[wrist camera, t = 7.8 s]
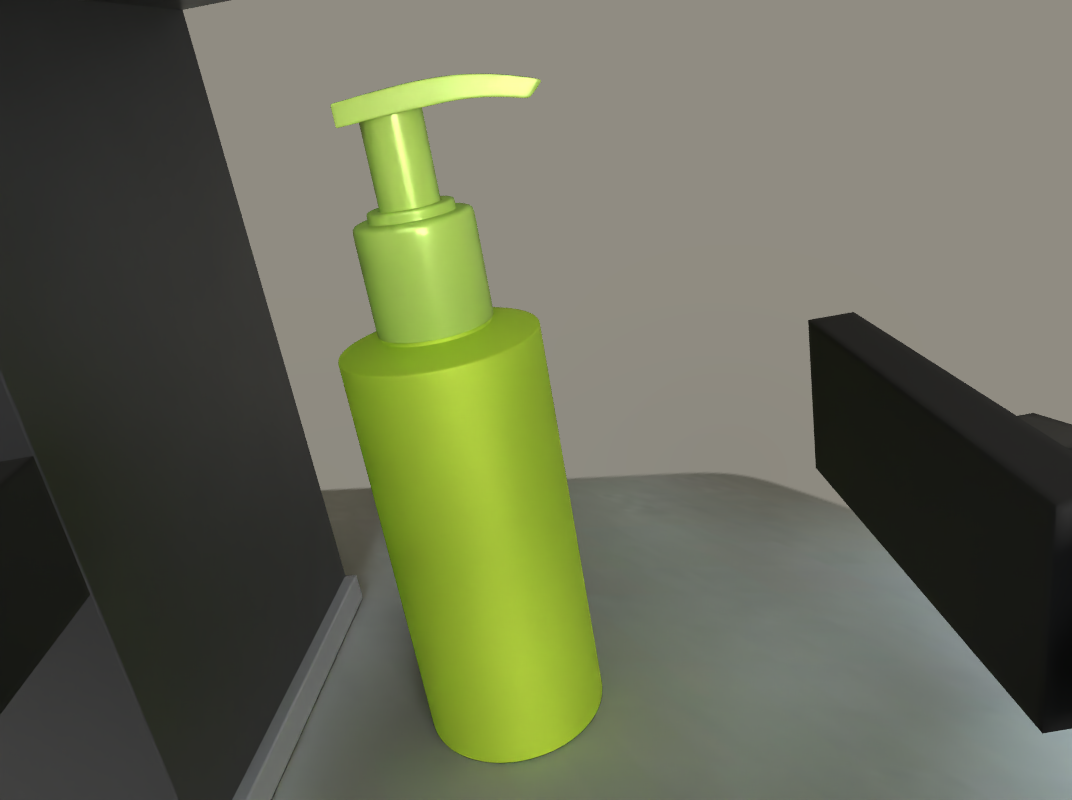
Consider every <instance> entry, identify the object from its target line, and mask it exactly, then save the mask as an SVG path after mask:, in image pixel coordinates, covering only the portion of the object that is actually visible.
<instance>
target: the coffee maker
mask: <svg viewBox="0 0 1072 800" xmlns="http://www.w3.org/2000/svg"><path fill="white" fill-rule="evenodd" d="M224 1H229V0H0V462H1V461H7V460H13V459H18V458H24V457H30V456H34V459H35V461H36V464H37V466H38V469H39V471H40V473H41V476H42V478H43V481H44V483H45V486H46V488H47V490H48V493H49V495H50V498H51V500H52V503H53V505H54V507H55V510H56V512H57V515H58V517H59V520H60V522H61V524H62V527H63V529H64V532H65V534H66V537H67V539H68V541H69V544H70V546H71V549H72V551H73V554H74V556H75V558H76V561H77V563H78V566H79V568H80V571H81V573H82V575H83V578H84V580H85V583H86V585H87V588H88V590H89V592H90V596H89V597H88V598H87V600H86V601H85V602H84V604H83V605H82V606H81V608H80V609H79V610H78V612H77V613H76V614H75V616H74V617H73V618H72V620H71V621H70V622H69V624H68V625H67V626H66V628H65V629H64V630H63V632H62V633H61V634H60V636H59V637H58V638H57V640H56V641H55V642H54V644H53V645H52V646H51V648H50V649H49V650H48V652H47V653H46V654H45V656H44V657H43V658H42V660H41V661H40V662H39V664H38V665H37V666H36V668H35V669H34V670H33V672H32V673H31V674H30V676H29V677H28V678H27V680H26V681H25V682H24V684H23V685H22V686H21V688H20V689H19V690H18V692H17V693H16V694H15V696H14V697H13V698H12V700H11V701H10V702H9V704H8V705H7V706H6V708H5V709H4V710H3V712H2V713H1V714H0V800H271V799H272V796H273V794H274V792H275V790H276V788H277V785H278V783H279V781H280V779H281V777H282V774H283V772H284V770H285V768H286V765H287V763H288V761H289V759H290V757H291V754H292V752H293V750H294V748H295V746H296V743H297V741H298V739H299V737H300V735H301V732H302V730H303V728H304V726H305V724H306V721H307V719H308V717H309V715H310V712H311V710H312V708H313V706H314V704H315V701H316V699H317V697H318V695H319V693H320V690H321V688H322V686H323V684H324V682H325V679H326V677H327V675H328V673H329V671H330V668H331V666H332V664H333V662H334V659H335V657H336V655H337V653H338V651H339V648H340V646H341V644H342V642H343V640H344V637H345V635H346V633H347V631H348V629H349V626H350V624H351V622H352V620H353V618H354V615H355V613H356V611H357V609H358V606H359V604H360V602H361V600H362V593H361V590H360V586H359V583H358V579H357V576H356V575H349V576H345V573H344V570H343V566H342V563H341V559H340V556H339V552H338V549H337V545H336V542H335V539H334V535H333V532H332V528H331V525H330V521H329V518H328V514H327V511H326V507H325V504H324V500H323V497H322V493H321V490H320V486H319V483H318V479H317V476H316V472H315V469H314V466H313V462H312V459H311V455H310V452H309V448H308V445H307V441H306V438H305V434H304V431H303V427H302V424H301V420H300V417H299V414H298V410H297V406H296V403H295V400H294V396H293V393H292V389H291V386H290V382H289V379H288V375H287V372H286V368H285V365H284V362H283V358H282V355H281V351H280V347H279V344H278V341H277V337H276V333H275V330H274V327H273V323H272V320H271V317H270V313H269V309H268V306H267V302H266V299H265V295H264V292H263V288H262V285H261V281H260V278H259V275H258V271H257V267H256V264H255V261H254V257H253V254H252V250H251V247H250V243H249V240H248V236H247V233H246V229H245V226H244V222H243V219H242V215H241V212H240V208H239V205H238V201H237V198H236V195H235V191H234V187H233V184H232V181H231V177H230V174H229V170H228V167H227V163H226V160H225V157H224V153H223V149H222V146H221V142H220V139H219V135H218V132H217V128H216V125H215V121H214V118H213V115H212V111H211V108H210V104H209V101H208V97H207V94H206V90H205V87H204V83H203V80H202V76H201V73H200V69H199V66H198V62H197V59H196V55H195V52H194V49H193V45H192V42H191V38H190V35H189V31H188V28H187V24H186V21H185V17H184V14H183V9H188V8H194V7H199V6H204V5H209V4H214V3H219V2H224Z"/></svg>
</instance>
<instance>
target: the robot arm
mask: <svg viewBox="0 0 1072 800" xmlns="http://www.w3.org/2000/svg"><path fill="white" fill-rule="evenodd" d="M808 323H809V342H810V361H811V379H812V400H813V418H814V437H815V458H816V468H817V469H818V471H819V472H820V473H821V474H822V475H823V477H824V478H825V479H826V480H827V481H828V482H829V484H830V485H831V486H832V487H833V488H834V489H835V491H836V492H837V493H838V494H839V495H840V496H841V498H842V499H843V500H844V501H845V502H846V504H847V505H848V506H849V507H850V508H851V509H852V511H853V512H854V513H855V514H856V515H857V516H858V518H859V519H860V520H861V521H862V522H863V523H864V525H865V526H866V527H867V528H868V529H869V530H870V532H871V533H872V534H873V535H874V536H875V538H876V539H877V540H878V541H879V542H880V543H881V545H882V546H883V547H884V548H885V549H886V550H887V552H888V553H889V554H890V555H891V556H892V557H893V559H894V560H895V561H896V562H897V563H898V564H899V566H900V567H901V568H902V569H903V570H904V572H905V573H906V574H907V575H908V576H909V577H910V579H911V580H912V581H913V582H914V583H915V584H916V586H917V587H918V588H919V589H920V590H921V591H922V593H923V594H924V595H925V596H926V597H927V598H928V600H929V601H930V602H931V603H932V604H933V605H934V607H935V608H936V609H937V610H938V611H939V613H940V614H941V615H942V616H943V617H944V618H945V620H946V621H947V622H948V623H949V624H950V625H951V627H952V628H953V629H954V630H955V631H956V632H957V634H958V635H959V636H960V637H961V638H962V639H963V641H964V642H965V643H966V644H967V645H968V647H969V648H970V649H971V650H972V651H973V652H974V654H975V655H976V656H977V657H978V658H979V659H980V661H981V662H982V663H983V664H984V665H985V666H986V668H987V669H988V670H989V671H990V672H991V673H992V675H993V676H994V677H995V678H996V679H997V681H998V682H999V683H1000V684H1001V685H1002V686H1003V688H1004V689H1005V690H1006V691H1007V692H1008V693H1009V695H1010V696H1011V697H1012V698H1013V699H1014V700H1015V702H1016V703H1017V704H1018V705H1019V706H1020V707H1021V709H1022V710H1023V711H1024V712H1025V713H1026V715H1027V716H1028V717H1029V718H1030V719H1031V720H1032V722H1033V723H1034V724H1035V725H1036V726H1037V727H1038V729H1039V730H1040V731H1041V732H1042V733H1048V732H1053V731H1059V730H1065V729H1071V728H1072V425H1071V424H1068V423H1065V422H1062V421H1058V420H1054V419H1051V418H1048V417H1045V416H1041V415H1038V414H1035V413H1031V414H1026V415H1020V416H1016V415H1014V414H1013V413H1011V412H1010V411H1008V410H1006V409H1005V408H1003V407H1002V406H1000V405H999V404H997V403H995V402H994V401H992V400H991V399H989V398H988V397H986V396H984V395H983V394H981V393H980V392H978V391H976V390H975V389H973V388H972V387H970V386H969V385H967V384H966V383H964V382H962V381H961V380H959V379H958V378H956V377H954V376H953V375H951V374H950V373H948V372H947V371H945V370H944V369H942V368H941V367H939V366H937V365H936V364H934V363H932V362H931V361H929V360H928V359H926V358H925V357H923V356H922V355H920V354H918V353H917V352H915V351H914V350H912V349H911V348H909V347H907V346H906V345H904V344H903V343H901V342H900V341H898V340H896V339H895V338H893V337H892V336H890V335H889V334H887V333H885V332H884V331H882V330H881V329H879V328H877V327H876V326H875V325H873V324H871V323H870V322H868V321H866V320H865V319H864V318H862V317H860V316H859V315H857V314H856V313H854V312H852V313H847V314H841V315H835V316H829V317H824V318H818V319H812V320H808ZM89 596H90V592H89V590H88V588H87V585H86V583H85V580H84V578H83V575H82V573H81V571H80V568H79V566H78V563H77V561H76V558H75V556H74V554H73V551H72V549H71V546H70V544H69V541H68V539H67V537H66V534H65V532H64V529H63V527H62V524H61V522H60V520H59V517H58V515H57V512H56V510H55V507H54V505H53V503H52V500H51V498H50V495H49V493H48V490H47V488H46V486H45V483H44V481H43V478H42V476H41V473H40V471H39V469H38V466H37V464H36V461H35V459H34V456H30V457H24V458H18V459H13V460H7V461H1V462H0V714H1V713H2V712H3V710H4V709H5V708H6V706H7V705H8V704H9V702H10V701H11V700H12V698H13V697H14V696H15V694H16V693H17V692H18V690H19V689H20V688H21V686H22V685H23V684H24V682H25V681H26V680H27V678H28V677H29V676H30V674H31V673H32V672H33V670H34V669H35V668H36V666H37V665H38V664H39V662H40V661H41V660H42V658H43V657H44V656H45V654H46V653H47V652H48V650H49V649H50V648H51V646H52V645H53V644H54V642H55V641H56V640H57V638H58V637H59V636H60V634H61V633H62V632H63V630H64V629H65V628H66V626H67V625H68V624H69V622H70V621H71V620H72V618H73V617H74V616H75V614H76V613H77V612H78V610H79V609H80V608H81V606H82V605H83V604H84V602H85V601H86V600H87V598H88V597H89Z"/></svg>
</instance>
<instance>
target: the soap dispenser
mask: <svg viewBox="0 0 1072 800" xmlns="http://www.w3.org/2000/svg"><path fill="white" fill-rule="evenodd" d="M540 82H541V80H540V79H536V78H530V77H523V76H514V75H502V74H461V75H451V76H450V75H449V76H441V77H435V78H429V79H423V80H418V81H414V82H410V83H405V84H401V85H397V86H393V87H389V88H385V89H382V90H378V91H374V92H371V93H368V94H364V95H360V96H357V97H353V98H350V99H347V100H343V101H340V102H336V103H333V104H331V109H332V114H333V117H334V122H335V126H336V128H339V127H344V126H347V125H351V124H355V123H359V125H360V129H361V132H362V138H363V142H364V146H365V151H366V155H367V159H368V163H369V168H370V172H371V176H372V181H373V185H374V190H375V194H376V198H377V202H378V206H379V208H377V209H374V210H372V211H370V212H368V213H367V220H366V221H364V222H362V223H360V224H358V225H357V226H355V227H354V229H353V236H354V241H355V245H356V249H357V253H358V258H359V261H360V266H361V270H362V274H363V277H364V282H365V286H366V290H367V294H368V297H369V302H370V306H371V310H372V315H373V319H374V323H375V327H376V332H374V333H372V334H370V335H368V336H366V337H364V338H362V339H360V340H358V341H357V342H355V343H354V344H352V345H351V346H349V347H348V348H347V349H346V350H345V351H344V352H343V353H342V354H341V356H340V358H339V362H338V363H339V368H340V372H341V375H342V379H343V383H344V387H345V391H346V394H347V398H348V402H349V406H350V410H351V413H352V417H353V421H354V425H355V428H356V432H357V436H358V440H359V443H360V447H361V451H362V455H363V458H364V462H365V466H366V470H367V474H368V477H369V481H370V485H371V489H372V493H373V496H374V500H375V504H376V508H377V511H378V515H379V519H380V523H381V526H382V530H383V534H384V538H385V542H386V545H387V549H388V553H389V557H390V560H391V564H392V568H393V572H394V576H395V579H396V583H397V587H398V591H399V594H400V598H401V602H402V606H403V609H404V613H405V617H406V621H407V625H408V628H409V632H410V636H411V640H412V643H413V647H414V651H415V655H416V658H417V662H418V666H419V670H420V674H421V677H422V681H423V685H424V689H425V692H426V696H427V700H428V704H429V708H430V711H431V715H432V719H433V723H434V726H435V729H436V731H437V733H438V735H439V737H440V738H441V739H442V741H443V742H444V743H445V744H446V745H447V746H448V747H450V748H451V749H452V750H454V751H455V752H457V753H459V754H461V755H463V756H465V757H468V758H471V759H474V760H478V761H483V762H492V763H508V762H517V761H523V760H528V759H532V758H535V757H539V756H542V755H544V754H547V753H549V752H551V751H554V750H556V749H558V748H560V747H561V746H563V745H565V744H566V743H568V742H569V741H571V740H572V739H573V738H575V737H576V736H577V735H578V734H580V733H581V732H582V731H583V730H584V729H585V728H586V727H587V725H588V724H589V723H590V722H591V720H592V719H593V717H594V716H595V714H596V712H597V710H598V708H599V705H600V702H601V697H602V681H601V675H600V670H599V664H598V658H597V652H596V646H595V641H594V635H593V629H592V623H591V617H590V612H589V606H588V600H587V594H586V589H585V583H584V577H583V571H582V565H581V560H580V554H579V548H578V542H577V536H576V531H575V525H574V519H573V513H572V507H571V502H570V496H569V490H568V484H567V478H566V473H565V467H564V461H563V455H562V450H561V444H560V438H559V433H558V426H557V421H556V415H555V409H554V403H553V397H552V392H551V386H550V380H549V374H548V368H547V363H546V357H545V351H544V345H543V340H542V334H541V328H540V323H539V320H538V318H537V317H536V316H535V315H533V314H531V313H529V312H526V311H523V310H519V309H512V308H499V307H492V302H491V297H490V291H489V286H488V281H487V276H486V271H485V265H484V261H483V255H482V250H481V244H480V239H479V234H478V229H477V224H476V219H475V214H474V210H473V208H472V206H470V205H469V204H463V203H455V201H454V198H453V197H451V196H440V195H439V190H438V185H437V180H436V175H435V170H434V166H433V160H432V156H431V151H430V146H429V141H428V136H427V131H426V126H425V121H424V116H423V111H422V107H426V106H431V105H435V104H439V103H444V102H448V101H453V100H460V99H468V98H478V97H516V98H528V97H530V96H531V95H532V94H533V92H534V91H535V90H536V88H537V87H538V85H539V84H540Z"/></svg>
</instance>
